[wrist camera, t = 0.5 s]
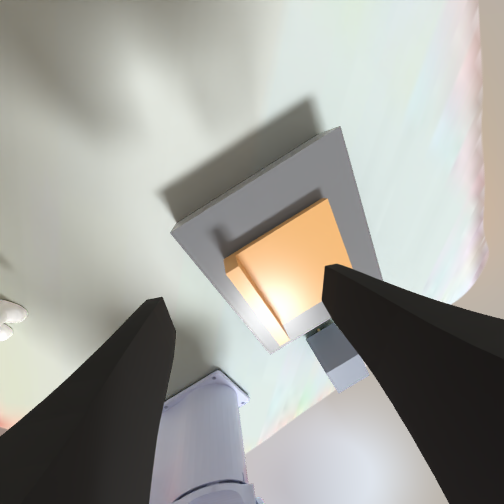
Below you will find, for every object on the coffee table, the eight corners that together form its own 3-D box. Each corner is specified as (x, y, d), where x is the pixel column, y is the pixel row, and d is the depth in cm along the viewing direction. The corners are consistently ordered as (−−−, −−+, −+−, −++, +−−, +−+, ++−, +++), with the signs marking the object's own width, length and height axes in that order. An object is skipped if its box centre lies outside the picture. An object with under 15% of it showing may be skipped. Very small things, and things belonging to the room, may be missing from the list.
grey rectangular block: (315, 353, 26) (338, 393, 21) (303, 334, 24) (326, 373, 20) (340, 338, 26) (369, 375, 21) (329, 318, 24) (359, 353, 19)
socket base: (263, 333, 23) (270, 354, 20) (176, 222, 16) (170, 232, 13) (363, 272, 23) (384, 285, 20) (317, 134, 16) (340, 126, 13)
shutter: (271, 325, 18) (280, 346, 16) (223, 259, 15) (225, 273, 13) (352, 276, 18) (371, 290, 16) (323, 197, 15) (343, 201, 12)
